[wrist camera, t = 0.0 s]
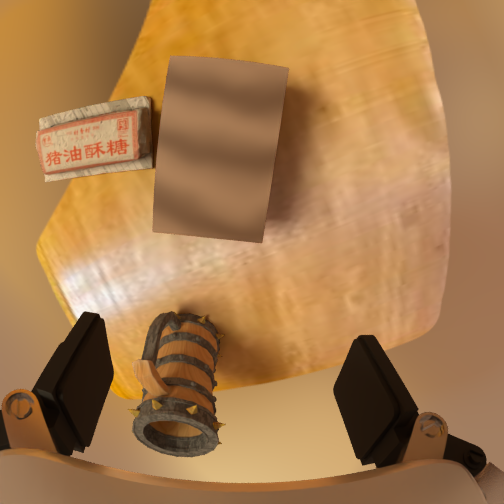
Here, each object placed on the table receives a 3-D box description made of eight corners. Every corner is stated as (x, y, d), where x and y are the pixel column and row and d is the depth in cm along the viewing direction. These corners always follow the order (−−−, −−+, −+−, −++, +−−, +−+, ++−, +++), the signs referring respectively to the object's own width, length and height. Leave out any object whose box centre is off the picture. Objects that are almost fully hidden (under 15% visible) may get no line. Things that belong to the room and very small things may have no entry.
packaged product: (142, 91, 29) (145, 172, 33) (152, 95, 34) (155, 167, 37) (26, 118, 28) (31, 187, 32) (44, 118, 32) (48, 181, 36)
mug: (169, 370, 50) (152, 461, 32) (128, 293, 44) (82, 385, 25) (235, 358, 50) (240, 455, 32) (205, 275, 43) (191, 373, 25)
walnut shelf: (183, 72, 32) (170, 55, 24) (275, 82, 34) (288, 68, 25) (168, 211, 39) (152, 232, 31) (255, 219, 41) (262, 243, 32)
